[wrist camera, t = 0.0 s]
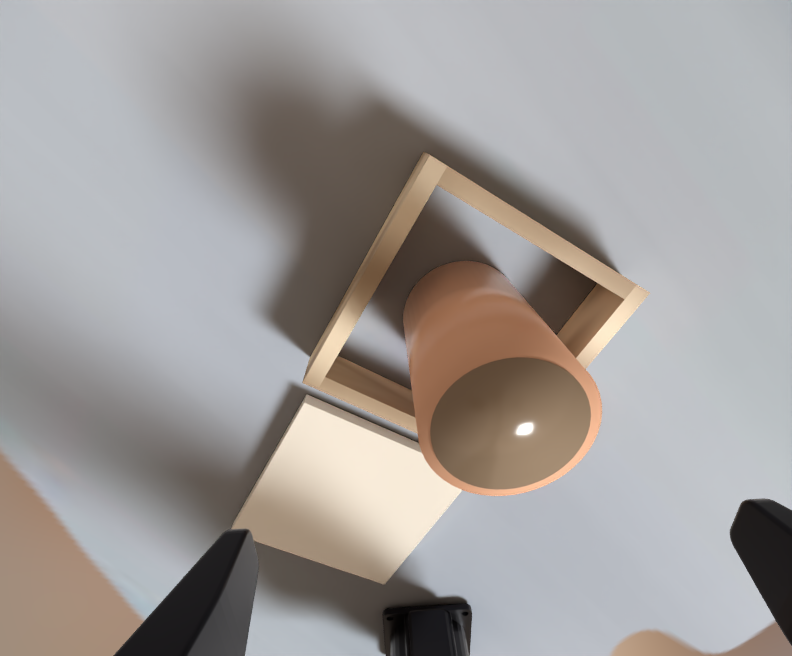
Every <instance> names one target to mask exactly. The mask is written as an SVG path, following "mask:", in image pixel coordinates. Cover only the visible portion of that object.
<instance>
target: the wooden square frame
mask: <svg viewBox="0 0 792 656" xmlns="http://www.w3.org/2000/svg"><path fill="white" fill-rule="evenodd" d="M436 185H438V186H439V187H441V188H443V189H444V190H446V191H448V192H449V193H451V194H453V195H454V196H456V197H457V198H459V199H461V200H462V201H464V202H466V203H467V204H469V205H471V206H472V207H474V208H475V209H477V210H479V211H480V212H482V213H484V214H485V215H487V216H489V217H490V218H492V219H494V220H495V221H497V222H498V223H500V224H502V225H503V226H505V227H507V228H508V229H510V230H512V231H513V232H515V233H516V234H518V235H520V236H521V237H523V238H525V239H526V240H528V241H530V242H531V243H533V244H534V245H536V246H538V247H539V248H541V249H543V250H544V251H546V252H548V253H549V254H551V255H553V256H554V257H556V258H557V259H559V260H561V261H562V262H564V263H566V264H567V265H569V266H571V267H572V268H574V269H575V270H577V271H579V272H580V273H582V274H584V275H585V276H587V277H589V278H590V279H592V280H594V281H595V282H597V285H596V286H595V287H594V288H593V290H592V291H591V292H590V293H589V295H588V296H587V297H586V298H585V300H584V301H583V302H582V303H581V305H580V306H579V307H578V309H577V310H576V311H575V312H574V314H573V315H572V316H571V317H570V319H569V320H568V321H567V322H566V324H565V325H564V326H563V328H562V329H561V330H560V331H559V333H558V334H557V335H556V336H557V337H558V338H559V339H560V340H561V342H562V343H563V344H564V345H565V346H566V347H567V349H568V350H569V351H570V352H571V353H572V354H573V356H574V357H575V358H576V359H577V360H578V361H579V363H580V364H581V365H582V366H583V367H584V368H585V369H586V368H587V367H588V366H589V364H590V363H591V362H592V361H593V360H594V358H595V357H596V356H597V355H598V354H599V353H600V351H601V350H602V349H603V348H604V347H605V346H606V344H607V343H608V342H609V341H610V340H611V338H612V337H613V336H614V335H615V334H616V333H617V331H618V330H619V329H620V328H621V327H622V325H623V324H624V323H625V322H626V321H627V320H628V318H629V317H630V316H631V315H632V314H633V313H634V311H635V310H636V309H637V308H638V307H639V305H640V304H641V303H642V302H643V301H644V300H645V298H646V297H647V296H648V295H649V294H650V293H649V292H648V291H646V290H645V289H643V288H641V287H640V286H638V285H637V284H635V283H633V282H632V281H630V280H629V279H627V278H625V277H624V276H622V275H621V274H619V273H617V272H616V271H614V270H613V269H611V268H610V267H608V266H606V265H605V264H603V263H602V262H600V261H598V260H597V259H595V258H594V257H592V256H590V255H589V254H587V253H586V252H584V251H582V250H581V249H579V248H578V247H576V246H574V245H573V244H571V243H570V242H568V241H566V240H565V239H563V238H562V237H560V236H558V235H557V234H555V233H554V232H552V231H550V230H549V229H547V228H546V227H544V226H543V225H541V224H539V223H538V222H536V221H535V220H533V219H531V218H530V217H528V216H527V215H525V214H523V213H522V212H520V211H519V210H517V209H515V208H514V207H512V206H511V205H509V204H507V203H506V202H504V201H503V200H501V199H499V198H498V197H496V196H495V195H493V194H491V193H490V192H488V191H487V190H485V189H483V188H482V187H480V186H479V185H477V184H476V183H474V182H472V181H471V180H469V179H468V178H466V177H464V176H463V175H461V174H460V173H458V172H456V171H455V170H453V169H452V168H450V167H448V166H447V165H445V164H444V163H442V162H440V161H439V160H437V159H436V158H434V157H432V156H431V155H429V154H427V153H425V152H423V154H422V155H421V157H420V159H419V161H418V163H417V165H416V166H415V168H414V170H413V172H412V174H411V175H410V177H409V179H408V181H407V183H406V184H405V186H404V188H403V190H402V192H401V193H400V195H399V197H398V199H397V201H396V203H395V204H394V206H393V208H392V210H391V212H390V213H389V215H388V217H387V219H386V221H385V222H384V224H383V226H382V228H381V230H380V231H379V233H378V235H377V237H376V239H375V241H374V242H373V244H372V246H371V248H370V250H369V251H368V253H367V255H366V257H365V259H364V260H363V262H362V264H361V266H360V268H359V270H358V271H357V273H356V275H355V277H354V279H353V280H352V282H351V284H350V286H349V288H348V289H347V291H346V293H345V295H344V297H343V298H342V300H341V302H340V304H339V306H338V308H337V309H336V311H335V313H334V315H333V317H332V318H331V320H330V322H329V324H328V326H327V327H326V329H325V331H324V333H323V335H322V337H321V338H320V340H319V342H318V344H317V346H316V347H315V349H314V351H313V353H312V355H311V356H310V359H309V362H308V366H307V369H306V372H305V376H304V379H303V383H304V384H306V385H308V386H311V387H313V388H315V389H318V390H320V391H322V392H324V393H327V394H329V395H331V396H333V397H336V398H338V399H340V400H342V401H345V402H347V403H349V404H352V405H354V406H356V407H358V408H361V409H363V410H365V411H367V412H370V413H372V414H374V415H376V416H379V417H381V418H383V419H386V420H388V421H390V422H392V423H395V424H397V425H399V426H401V427H404V428H406V429H408V430H410V431H413V432H415V433H417V434H418V432H417V425H416V417H415V409H414V402H413V394H412V390H410V389H408V388H406V387H404V386H402V385H399V384H397V383H395V382H393V381H391V380H389V379H387V378H384V377H382V376H380V375H378V374H376V373H374V372H372V371H369V370H367V369H365V368H363V367H361V366H359V365H357V364H354V363H352V362H350V361H348V360H346V359H344V358H342V357H340V356H338V354H339V352H340V350H341V349H342V347H343V345H344V343H345V342H346V340H347V338H348V337H349V335H350V333H351V331H352V330H353V328H354V326H355V324H356V323H357V321H358V319H359V318H360V316H361V314H362V312H363V311H364V309H365V307H366V305H367V304H368V302H369V300H370V299H371V297H372V295H373V293H374V292H375V290H376V288H377V287H378V285H379V283H380V281H381V280H382V278H383V276H384V274H385V273H386V271H387V269H388V268H389V266H390V264H391V262H392V261H393V259H394V257H395V255H396V254H397V252H398V250H399V249H400V247H401V245H402V243H403V242H404V240H405V238H406V237H407V235H408V233H409V231H410V230H411V228H412V226H413V224H414V223H415V221H416V219H417V218H418V216H419V214H420V212H421V211H422V209H423V207H424V205H425V204H426V202H427V200H428V199H429V197H430V195H431V193H432V192H433V190H434V188H435V186H436Z"/></svg>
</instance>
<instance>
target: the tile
mask: <svg viewBox="0 0 792 656" xmlns="http://www.w3.org/2000/svg"><path fill="white" fill-rule="evenodd" d="M461 491H462V490H461V489H459V488H457V487H455V486H452V485H451V484H449V483H448V482H446V481H444V480H443V479H442V478H441V477H439V476H438V475H437V474H436V473H435V472H434V471H433V470H432V469H431V468H430V466H429V465H428V463H427V462H426V460H425V458H424V456H423V454H422V452H421V448H420V445H419V443H417V442H415V441H413V440H411V439H408V438H406V437H404V436H401V435H399V434H397V433H394V432H392V431H390V430H388V429H385V428H383V427H381V426H378V425H376V424H374V423H372V422H369V421H367V420H365V419H362V418H360V417H358V416H355V415H353V414H351V413H349V412H346V411H344V410H342V409H339V408H337V407H335V406H332V405H330V404H328V403H326V402H323V401H321V400H319V399H316V398H314V397H312V396H310V395H306V396H305V398H304V400H303V402H302V403H301V405H300V407H299V409H298V410H297V412H296V414H295V416H294V417H293V419H292V421H291V423H290V424H289V426H288V428H287V430H286V431H285V433H284V435H283V437H282V438H281V440H280V442H279V444H278V445H277V447H276V449H275V451H274V452H273V454H272V456H271V458H270V459H269V461H268V463H267V465H266V466H265V468H264V470H263V472H262V473H261V475H260V477H259V479H258V480H257V482H256V484H255V486H254V487H253V489H252V491H251V493H250V494H249V496H248V498H247V500H246V501H245V503H244V505H243V507H242V508H241V510H240V512H239V514H238V515H237V517H236V519H235V521H234V523H233V525H232V528H231V529H249V530H250V531H251V533H252V536H253V540H254V541H256V542H259V543H262V544H265V545H268V546H271V547H274V548H277V549H280V550H283V551H286V552H289V553H291V554H294V555H297V556H300V557H303V558H306V559H309V560H312V561H315V562H318V563H321V564H324V565H327V566H330V567H333V568H336V569H339V570H342V571H345V572H348V573H351V574H354V575H357V576H360V577H363V578H366V579H369V580H372V581H375V582H378V583H381V584H385V583H386V582H387V581H388V580H389V578H390V577H391V576H392V575H393V574H394V572H395V571H396V570H397V569H398V567H399V566H400V565H401V564H402V563H403V561H404V560H405V559H406V558H407V557H408V555H409V554H410V553H411V552H412V551H413V549H414V548H415V547H416V546H417V544H418V543H419V542H420V541H421V540H422V538H423V537H424V536H425V535H426V534H427V532H428V531H429V530H430V529H431V527H432V526H433V525H434V524H435V523H436V521H437V520H438V519H439V518H440V517H441V515H442V514H443V513H444V512H445V511H446V509H447V508H448V507H449V506H450V504H451V503H452V502H453V501H454V500H455V498H456V497H457V496H458V495H459V494H460V492H461Z"/></svg>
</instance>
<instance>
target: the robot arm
mask: <svg viewBox="0 0 792 656" xmlns="http://www.w3.org/2000/svg"><path fill="white" fill-rule="evenodd" d="M730 538H731V541H732V544H733V546H734V548H735V550H736V551H737V553H738V555H739V557H740V558H741V560H742V562H743V564H744V565H745V567H746V569H747V571H748V572H749V574H750V576H751V578H752V579H753V581H754V583H755V585H756V587H757V588H758V590H759V592H760V594H761V595H762V597H763V599H764V601H765V602H766V604H767V606H768V608H769V609H770V611H771V613H772V615H773V616H774V618H775V620H776V622H777V623H778V625H779V626H780V628H781V630H782V632H783V633H784V635H785V636H786V638H787V639H788V641H789V643H790V644H791V646H792V510H790V509H788V508H786V507H784V506H782V505H781V504H779V503H777V502H775V501H773V500H770V499H748V500H745V501H743V502H742V503H741V505H740V507H739V509H738V512H737V514H736V517H735V519H734V521H733V524H732V526H731V529H730ZM258 569H259V562H258V556H257V552H256V548H255V544H254V540H253V536H252V533H251V531H250V530H249V529H230V530H227V531H225V532H224V533H223V534H222V535H221V536H220V537H219V538H218V539H217V541H216V542H215V543H214V544H213V545H212V546H211V547H210V548H209V550H208V551H207V552H206V553H205V554H204V555H203V556H202V557H201V558H200V560H199V561H198V562H197V563H196V564H195V565H194V566H193V567H192V569H191V570H190V571H189V572H188V573H187V574H186V575H185V576H184V577H183V579H182V580H181V581H180V582H179V583H178V584H177V585H176V586H175V588H174V589H173V590H172V591H171V592H170V593H169V594H168V595H167V596H166V598H165V599H164V600H163V601H162V602H161V603H160V604H159V605H158V607H157V608H156V609H155V610H154V611H153V612H152V613H151V614H150V615H149V617H148V618H147V619H146V620H145V621H144V622H143V623H142V624H141V626H140V627H139V628H138V629H137V630H136V631H135V632H134V633H133V635H132V636H131V637H130V638H129V639H128V640H127V641H126V642H125V644H123V646H122V647H121V648H120V649H119V650H118V651H117V652H116V653H115V655H114V656H245V651H246V645H247V639H248V632H249V626H250V620H251V614H252V608H253V602H254V595H255V589H256V583H257V577H258ZM471 621H472V611H471V606H470V605H468V604H455V605H439V606H424V607H408V608H393V609H386V610H384V612H383V625H384V637H385V649H386V656H470V639H471Z"/></svg>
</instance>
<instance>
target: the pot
mask: <svg viewBox="0 0 792 656" xmlns="http://www.w3.org/2000/svg"><path fill="white" fill-rule="evenodd" d="M403 325H404V333H405V341H406V348H407V356H408V364H409V371H410V379H411V386H412V394H413V402H414V409H415V417H416V425H417V432H418V440H419V445H420V448H421V452H422V454H423V456H424V458H425V460H426V462H427V463H428V465H429V466H430V468H431V469H432V470H433V471H434V472H435V473H436V474H437V475H438V476H439V477H441V478H442V479H443V480H444V481H446V482H448V483H449V484H451V485H452V486H455V487H457V488H459V489H461V490H464V491H467V492H471V493H475V494H480V495H489V496H506V495H515V494H520V493H525V492H528V491H531V490H535V489H538V488H540V487H542V486H545V485H547V484H549V483H551V482H553V481H555V480H557V479H558V478H560V477H561V476H563V475H564V474H566V473H567V472H568V471H569V470H571V469H572V468H573V467H574V466H575V465H576V464H577V463H578V462H579V461H580V460H581V459H582V458H583V457H584V456H585V454H586V453H587V452H588V450H589V449H590V447H591V446H592V444H593V442H594V440H595V438H596V436H597V433H598V431H599V427H600V423H601V417H602V402H601V398H600V393H599V391H598V388H597V386H596V383H595V382H594V380H593V379H592V377H591V375H590V374H589V373H588V372H587V371H586V369H585V368H584V367H583V366H582V365H581V364H580V363H579V361H578V360H577V359H576V358H575V357H574V356H573V354H572V353H571V352H570V351H569V350H568V349H567V347H566V346H565V345H564V344H563V343H562V342H561V340H560V339H559V338H558V337H557V336H556V335H555V333H554V332H553V331H552V330H551V329H550V328H549V327H548V325H547V324H546V323H545V322H544V321H543V320H542V318H541V317H540V316H539V315H538V314H537V313H536V311H535V310H534V309H533V308H532V307H531V306H530V304H529V303H528V302H527V301H526V300H525V299H524V298H523V296H522V295H521V294H520V293H519V292H518V291H517V289H516V288H515V287H514V286H513V285H512V284H511V282H510V281H509V280H508V279H507V278H506V277H505V276H504V275H503V274H502V273H501V272H500V271H498V270H496V269H495V268H493V267H491V266H489V265H487V264H483V263H480V262H474V261H457V262H452V263H447V264H445V265H442V266H439V267H437V268H435V269H433V270H432V271H430V272H429V273H427V274H426V275H425V276H424V277H422V278H421V279H420V280H419V281H418V282H417V284H416V285H415V286H414V287H413V289H412V290H411V292H410V294H409V296H408V298H407V300H406V303H405V306H404V312H403Z"/></svg>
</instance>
